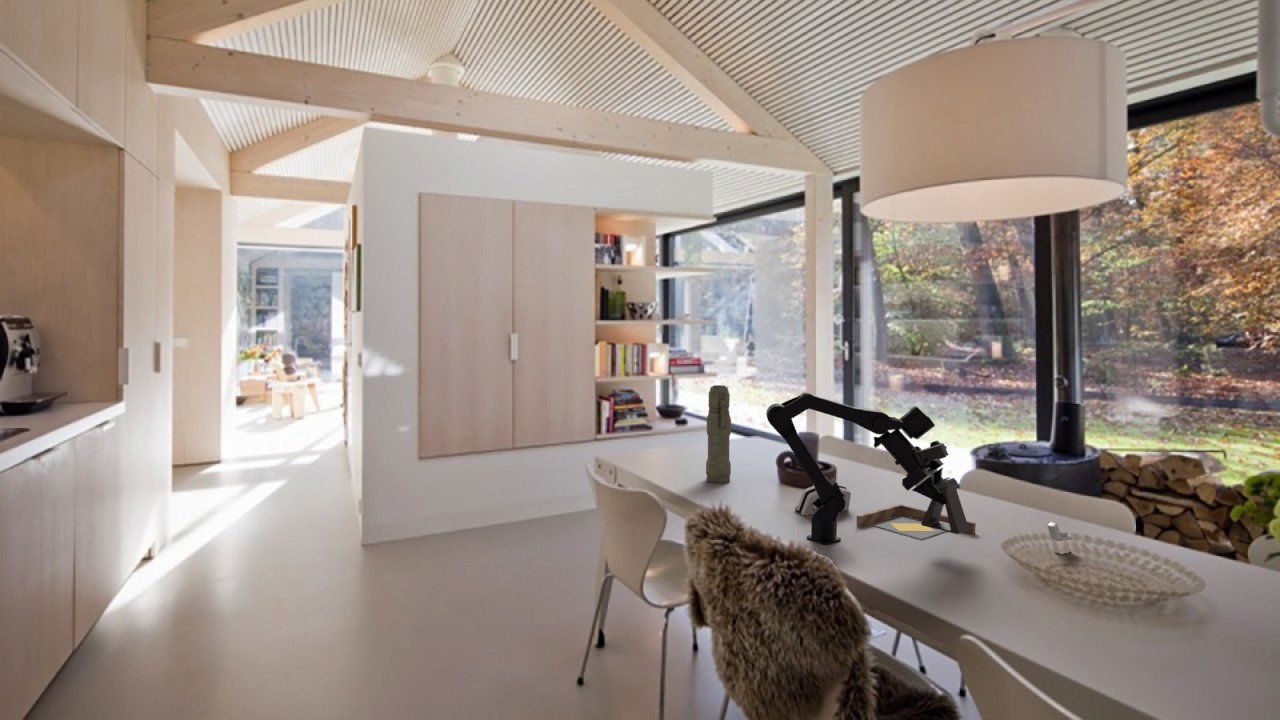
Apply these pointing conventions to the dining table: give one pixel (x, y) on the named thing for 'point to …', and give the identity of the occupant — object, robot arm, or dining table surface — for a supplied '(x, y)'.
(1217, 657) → the dining table surface
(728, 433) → the green stone statue
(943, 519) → the corner walls
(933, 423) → the robot arm
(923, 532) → the mat
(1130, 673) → the dining table surface
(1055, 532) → the grey l-shaped piece
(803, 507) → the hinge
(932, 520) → the dark grey a-frame stand
